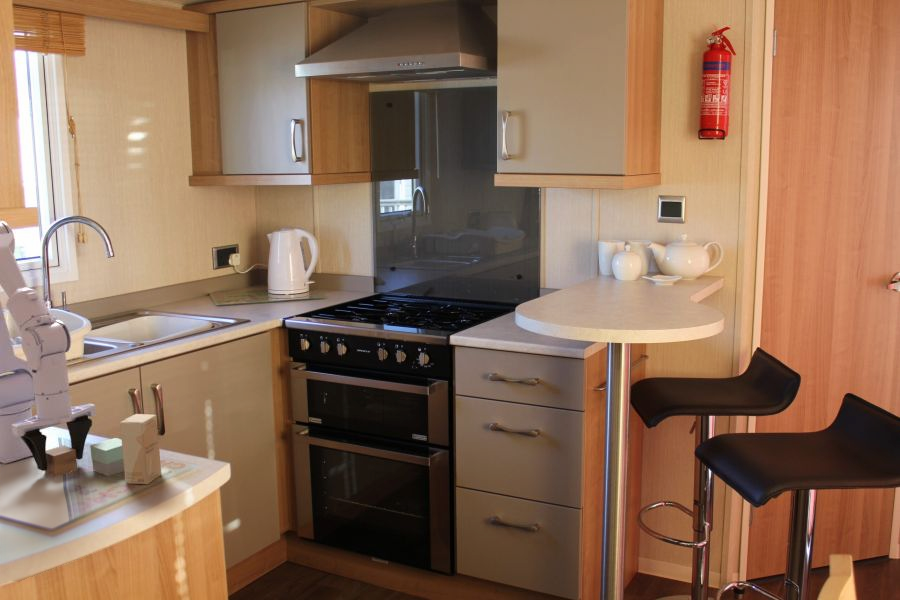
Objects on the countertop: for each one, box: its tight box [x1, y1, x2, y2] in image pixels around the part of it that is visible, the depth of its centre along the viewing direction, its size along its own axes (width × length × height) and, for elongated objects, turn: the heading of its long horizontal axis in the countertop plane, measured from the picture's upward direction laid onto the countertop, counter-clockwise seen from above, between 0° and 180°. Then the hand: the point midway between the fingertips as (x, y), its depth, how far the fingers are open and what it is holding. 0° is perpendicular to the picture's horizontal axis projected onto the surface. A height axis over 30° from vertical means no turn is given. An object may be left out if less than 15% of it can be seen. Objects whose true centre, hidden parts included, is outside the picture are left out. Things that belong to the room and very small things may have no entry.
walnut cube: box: [44, 444, 79, 478], centre depth 161 cm, size 4×4×4 cm
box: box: [119, 413, 162, 485], centre depth 155 cm, size 5×4×11 cm
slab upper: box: [89, 437, 123, 464], centre depth 161 cm, size 5×5×2 cm
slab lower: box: [91, 458, 125, 477], centre depth 161 cm, size 5×5×2 cm
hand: (60, 463), depth 161 cm, fingers open, 6 cm apart
